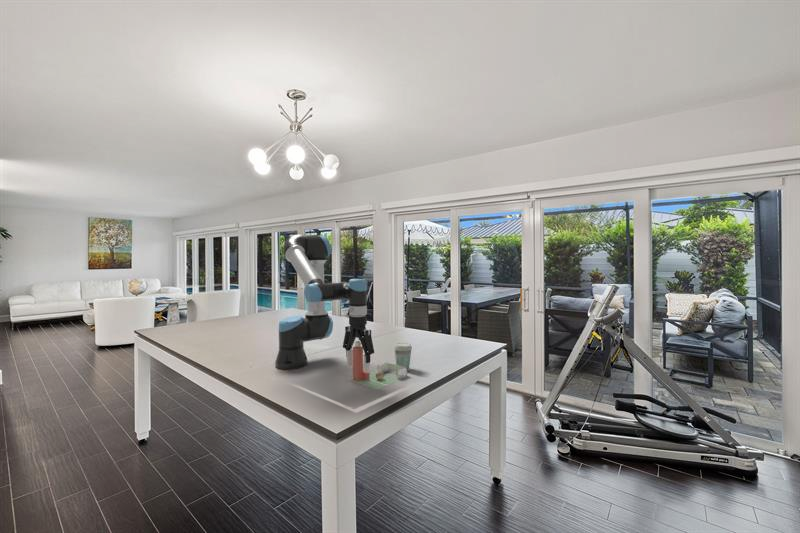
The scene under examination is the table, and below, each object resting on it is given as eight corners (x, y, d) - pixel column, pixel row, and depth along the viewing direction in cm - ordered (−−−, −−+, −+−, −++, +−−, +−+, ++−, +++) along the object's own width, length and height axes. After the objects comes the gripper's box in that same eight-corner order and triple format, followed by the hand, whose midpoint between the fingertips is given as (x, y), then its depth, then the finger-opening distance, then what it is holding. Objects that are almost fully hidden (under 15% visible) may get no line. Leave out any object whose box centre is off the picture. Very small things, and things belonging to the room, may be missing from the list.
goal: (377, 376, 156) (377, 365, 156) (386, 372, 161) (386, 361, 161) (398, 382, 148) (398, 370, 148) (406, 378, 153) (406, 367, 153)
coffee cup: (390, 369, 165) (390, 344, 164) (402, 365, 171) (402, 341, 171) (403, 374, 159) (403, 348, 159) (415, 369, 165) (415, 344, 165)
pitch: (346, 381, 149) (346, 379, 149) (369, 373, 159) (369, 370, 159) (376, 392, 137) (376, 389, 137) (399, 382, 148) (399, 380, 148)
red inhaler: (349, 378, 150) (349, 340, 149) (358, 375, 153) (357, 338, 153) (361, 382, 145) (360, 343, 144) (369, 379, 149) (369, 340, 148)
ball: (373, 379, 148) (373, 371, 148) (379, 377, 151) (379, 369, 151) (379, 381, 146) (379, 373, 146) (385, 379, 149) (385, 371, 149)
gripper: (334, 313, 152) (334, 364, 153) (370, 319, 138) (370, 375, 138) (347, 311, 158) (347, 360, 158) (383, 317, 143) (383, 370, 144)
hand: (358, 367), depth 148 cm, fingers open, 10 cm apart
